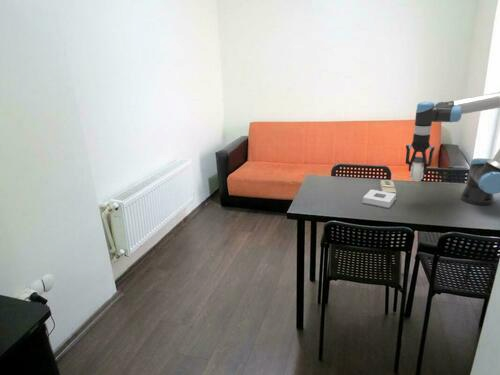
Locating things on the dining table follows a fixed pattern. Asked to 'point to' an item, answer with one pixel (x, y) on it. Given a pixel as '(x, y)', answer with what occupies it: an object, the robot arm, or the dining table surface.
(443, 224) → the dining table surface
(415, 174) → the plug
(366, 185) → the dining table surface
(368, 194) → the socket block
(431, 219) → the dining table surface
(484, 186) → the robot arm
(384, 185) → the electrical outlet
